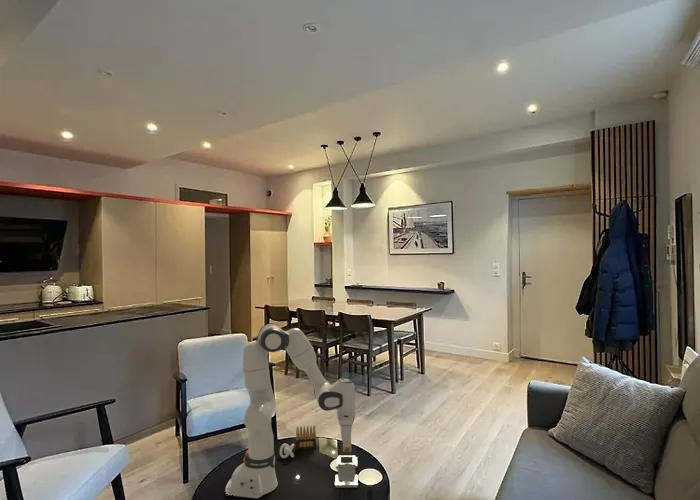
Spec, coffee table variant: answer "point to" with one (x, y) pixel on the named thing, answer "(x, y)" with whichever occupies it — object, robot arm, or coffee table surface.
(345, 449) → the hinge pin
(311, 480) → the coffee table surface
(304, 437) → the ammunition clip
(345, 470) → the hinge
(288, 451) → the knot
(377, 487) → the coffee table surface
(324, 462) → the coffee table surface
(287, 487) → the coffee table surface
